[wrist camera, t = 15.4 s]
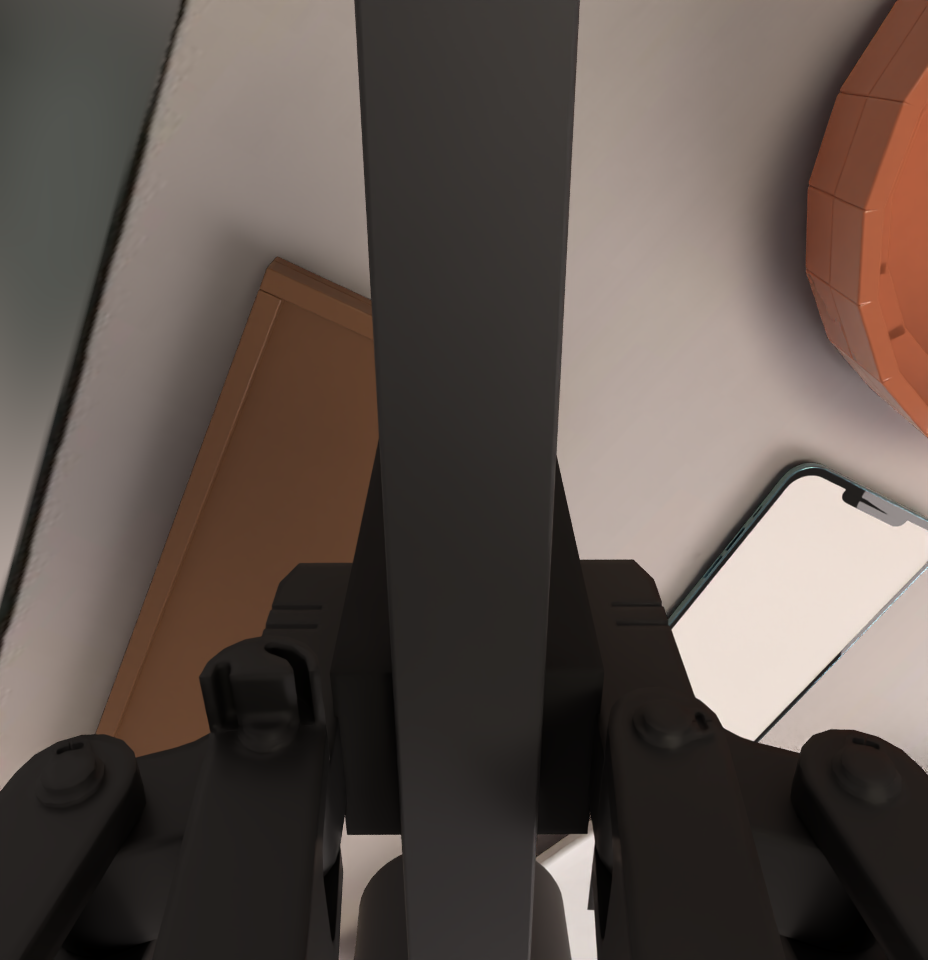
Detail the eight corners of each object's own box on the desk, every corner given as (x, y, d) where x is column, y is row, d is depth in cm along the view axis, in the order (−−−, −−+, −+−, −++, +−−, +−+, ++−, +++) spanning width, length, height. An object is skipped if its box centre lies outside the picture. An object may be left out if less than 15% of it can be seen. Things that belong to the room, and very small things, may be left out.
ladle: (558, 969, 22) (604, 1326, 16) (365, 974, 22) (335, 1335, 16) (635, -44, 12) (863, -180, 5) (269, -44, 11) (61, -183, 5)
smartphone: (719, 772, 40) (953, 529, 33) (722, 781, 39) (960, 536, 32) (582, 720, 38) (798, 451, 31) (583, 728, 38) (803, 457, 31)
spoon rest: (276, 255, 28) (266, 267, 26) (548, 381, 30) (552, 398, 29) (81, 780, 40) (68, 807, 39) (284, 842, 42) (278, 869, 41)
